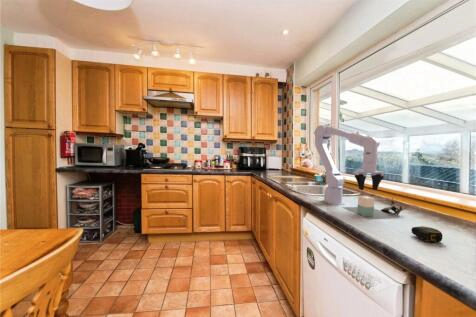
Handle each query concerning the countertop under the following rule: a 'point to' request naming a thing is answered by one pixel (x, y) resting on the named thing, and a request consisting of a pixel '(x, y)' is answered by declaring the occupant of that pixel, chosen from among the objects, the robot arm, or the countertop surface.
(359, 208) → the teal brick
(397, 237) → the countertop surface
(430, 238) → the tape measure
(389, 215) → the build mat
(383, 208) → the eagle figurine
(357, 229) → the countertop surface
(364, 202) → the cream brick
